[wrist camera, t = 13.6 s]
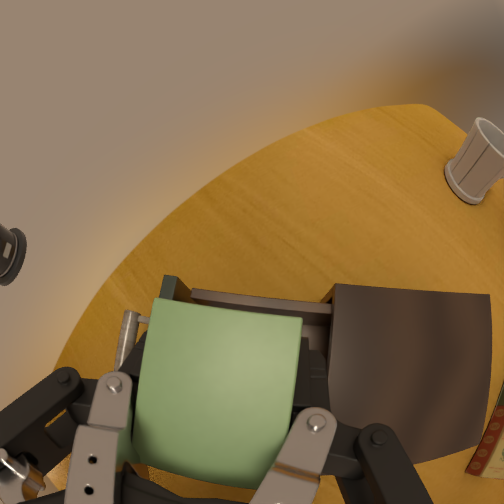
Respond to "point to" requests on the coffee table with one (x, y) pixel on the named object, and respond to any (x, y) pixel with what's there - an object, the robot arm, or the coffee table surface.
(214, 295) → the drawer
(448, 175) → the cup
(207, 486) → the coffee table surface
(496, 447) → the carton
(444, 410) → the cabinet
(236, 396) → the block
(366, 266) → the coffee table surface
